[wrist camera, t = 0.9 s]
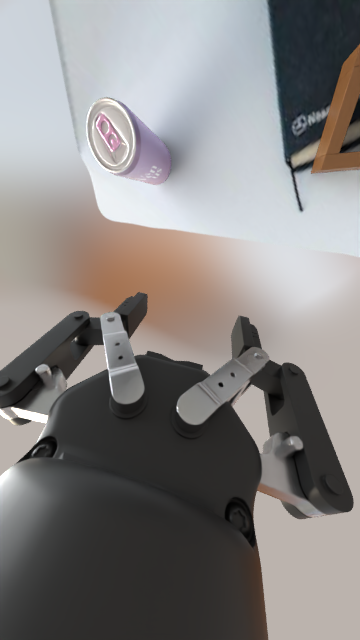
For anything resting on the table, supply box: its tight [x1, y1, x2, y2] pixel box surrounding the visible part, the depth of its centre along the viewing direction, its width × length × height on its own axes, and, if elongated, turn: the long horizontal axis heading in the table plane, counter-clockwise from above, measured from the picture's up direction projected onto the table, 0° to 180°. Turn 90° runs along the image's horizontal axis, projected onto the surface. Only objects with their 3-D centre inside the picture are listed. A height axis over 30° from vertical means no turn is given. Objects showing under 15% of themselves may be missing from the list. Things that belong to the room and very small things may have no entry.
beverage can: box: [87, 97, 171, 185], centre depth 24 cm, size 6×6×15 cm
